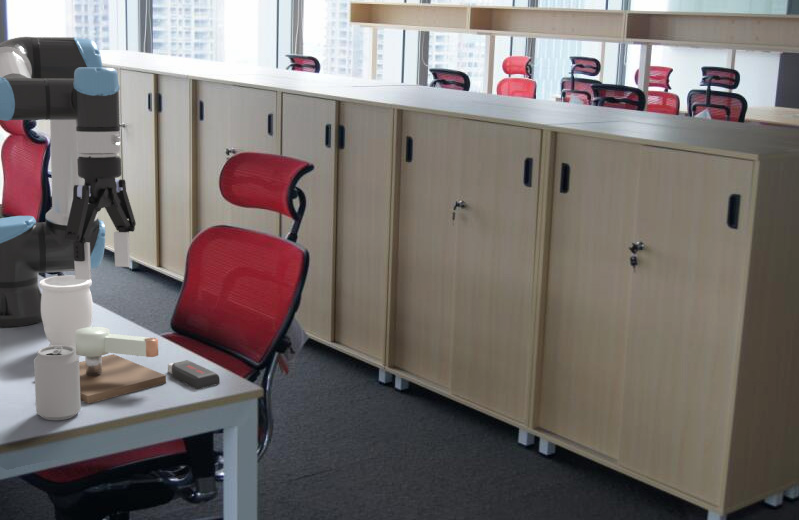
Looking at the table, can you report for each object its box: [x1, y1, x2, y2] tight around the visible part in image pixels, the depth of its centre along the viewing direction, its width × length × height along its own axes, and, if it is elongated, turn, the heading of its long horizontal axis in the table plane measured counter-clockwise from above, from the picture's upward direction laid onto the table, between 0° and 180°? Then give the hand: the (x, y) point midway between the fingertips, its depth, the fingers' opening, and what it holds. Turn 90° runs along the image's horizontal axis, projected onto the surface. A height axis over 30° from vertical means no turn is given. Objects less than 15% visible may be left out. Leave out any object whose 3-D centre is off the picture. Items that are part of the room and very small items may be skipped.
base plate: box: [79, 353, 167, 405], centre depth 203 cm, size 18×17×2 cm
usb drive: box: [167, 359, 221, 390], centre depth 206 cm, size 5×12×3 cm, turn 43°
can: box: [33, 345, 82, 421], centre depth 184 cm, size 8×8×12 cm
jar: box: [39, 274, 94, 353], centre depth 220 cm, size 11×10×15 cm
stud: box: [84, 355, 103, 376], centre depth 202 cm, size 3×3×4 cm
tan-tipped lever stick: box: [75, 326, 159, 358], centre depth 200 cm, size 16×6×4 cm, turn 78°
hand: (103, 272), depth 190 cm, fingers open, 13 cm apart
